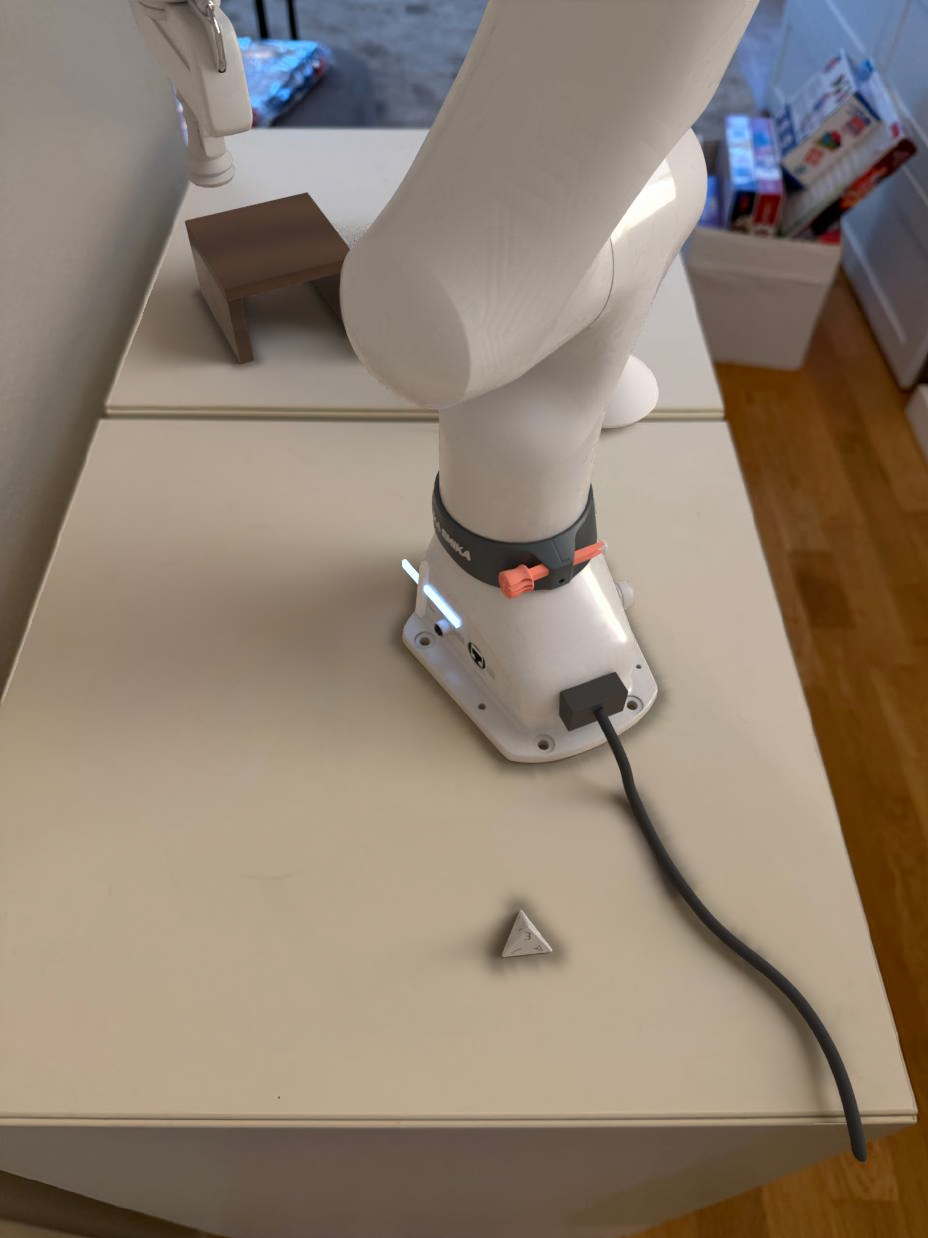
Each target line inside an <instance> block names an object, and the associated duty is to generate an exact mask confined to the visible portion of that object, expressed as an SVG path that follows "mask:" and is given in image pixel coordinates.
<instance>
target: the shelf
mask: <svg viewBox="0 0 928 1238" xmlns="http://www.w3.org/2000/svg"><path fill="white" fill-rule="evenodd" d="M184 224H185V229H186V233H187V237H188V241H189V245H190V249H191V255H192V258H193V263H194V267H195V271H196V274H197V280H198V284H199V288H200V292H201V295H202V297H203V299H204V301H205V303H206V305H207V306H208V308H209V310H210V311H211V313H212V315H213V317H214V318H215V320H216V323H217V324H218V326H219V327H220V329H221V331H222V333H223V335H224V336H225V338H226V341H227V342H228V343H229V346H230V347H231V349H232V351H233V353H234V355H235V356H236V358H237V360H238V362H239V363H240V365H243V364H246V363H250V362H254V361H255V358H254V357H255V356H254V352H253V348H252V347H253V346H252V343H251V342H252V341H251V338H250V333H249V328H248V323H247V318H246V313H245V308H244V304H243V299H246V298H250V297H254V296H258V295H262V294H265V293H269V292H273V291H277V290H280V289H285V288H288V287H292V286H296V285H300V284H304V283H307V282H312V281H313V282H314V284H315V285H316V286H317V288H318V289H319V291H320V293H321V294H322V296H323V297H324V298H325V299H326V301H327V302H328V304H329V305H330V307H331V309H333V311H334V313H335V314H336V316H337V317H338V319H339V320H340V321H341V323H342V324H343V325H344V323H343V318H342V314H341V306H340V277H341V270H342V266H343V262H344V260H345V257H346V255H347V254H348V252H349V250H350V249H351V247H349V245H348V244H347V242H346V241H345V240H344V239H343V237H342V236H341V234H339V232H338V230H337V229H336V228H335V227H334V226H333V224H332V223H331V222H330V219H328V217H327V216H326V214H325V213H324V212H323V211H322V210H321V208H320V207H319V205H318V204H317V202H315V200H314V199H313V198H312V195H310V194H309V192H308V191H306V192H301V193H297V194H294V195H293V194H292V195H289V196H285V197H281V198H276V199H272V200H267V201H262V202H258V203H255V204H252V205H246V206H241V207H237V208H233V209H229V210H225V211H220V212H215V213H212V214H208V215H207V214H206V215H203V216H199V217H195V218H189V219H186V220H184Z"/></svg>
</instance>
